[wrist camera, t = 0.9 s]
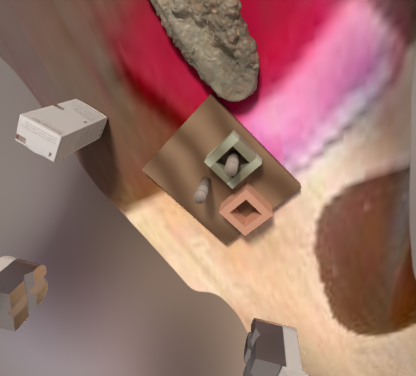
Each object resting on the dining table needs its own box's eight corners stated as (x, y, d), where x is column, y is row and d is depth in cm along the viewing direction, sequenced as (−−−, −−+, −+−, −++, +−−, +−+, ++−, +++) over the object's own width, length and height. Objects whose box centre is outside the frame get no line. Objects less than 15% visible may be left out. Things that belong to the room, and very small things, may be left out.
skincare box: (109, 116, 47) (64, 136, 36) (100, 139, 49) (55, 164, 38) (74, 97, 46) (18, 111, 36) (68, 121, 48) (12, 141, 38)
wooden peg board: (211, 93, 43) (202, 101, 36) (300, 183, 47) (306, 206, 40) (144, 166, 50) (126, 184, 43) (226, 239, 54) (221, 266, 47)
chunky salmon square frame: (247, 181, 46) (246, 189, 44) (272, 206, 47) (273, 215, 45) (221, 203, 49) (218, 212, 46) (245, 226, 50) (244, 236, 47)
